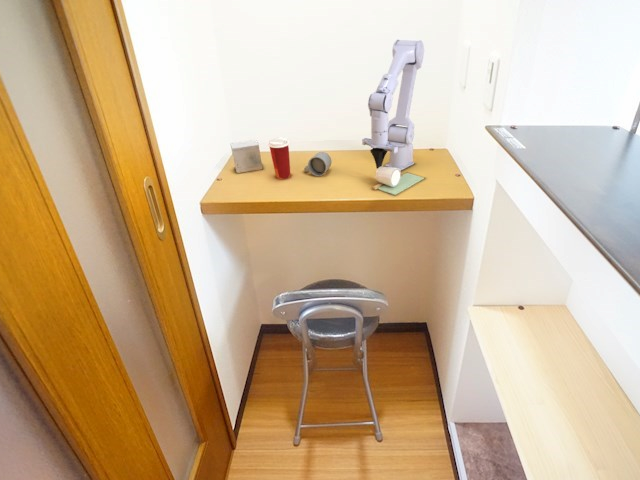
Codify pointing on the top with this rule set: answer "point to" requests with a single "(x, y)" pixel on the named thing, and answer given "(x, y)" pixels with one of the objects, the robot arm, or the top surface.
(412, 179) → the mat
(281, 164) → the paper cup
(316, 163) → the ceramic mug
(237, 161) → the grey concrete block
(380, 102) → the robot arm
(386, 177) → the beige short cylinder
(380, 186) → the stop batten
